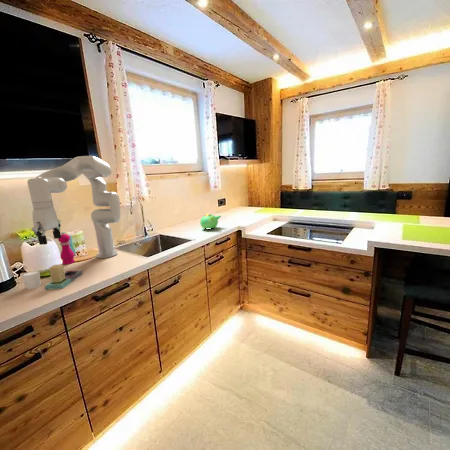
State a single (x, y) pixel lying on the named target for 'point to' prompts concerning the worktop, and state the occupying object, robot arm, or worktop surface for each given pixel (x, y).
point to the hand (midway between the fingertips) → (50, 241)
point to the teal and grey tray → (67, 281)
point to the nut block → (57, 274)
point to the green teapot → (209, 221)
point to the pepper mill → (66, 249)
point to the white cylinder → (31, 279)
